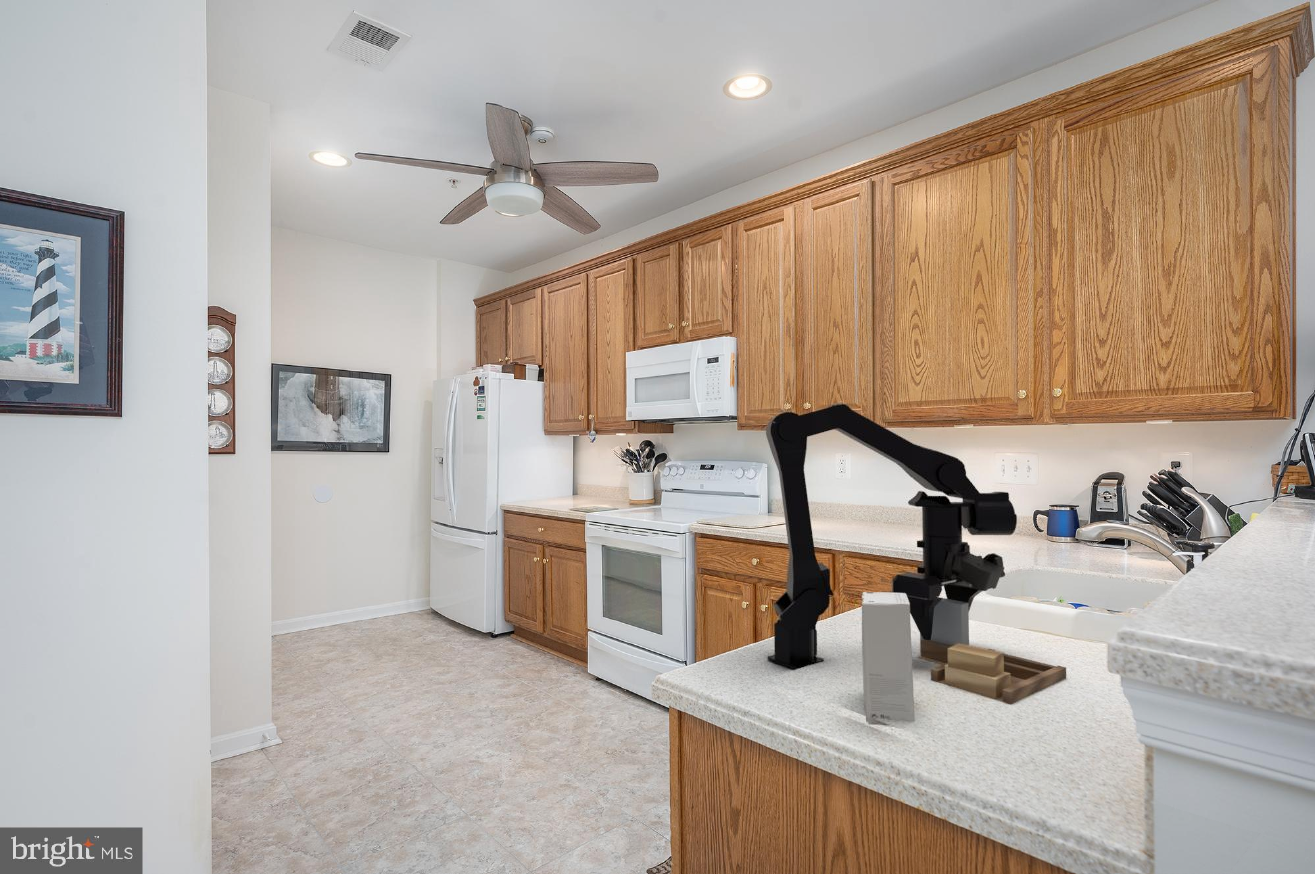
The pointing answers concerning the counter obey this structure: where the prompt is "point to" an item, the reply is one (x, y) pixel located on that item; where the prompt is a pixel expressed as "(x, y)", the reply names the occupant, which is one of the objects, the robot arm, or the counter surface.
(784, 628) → the robot arm
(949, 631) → the gray rectangular block
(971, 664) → the offcut
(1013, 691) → the rack
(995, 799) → the counter surface
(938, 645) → the stand
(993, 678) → the offcut
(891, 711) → the skincare box
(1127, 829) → the counter surface
